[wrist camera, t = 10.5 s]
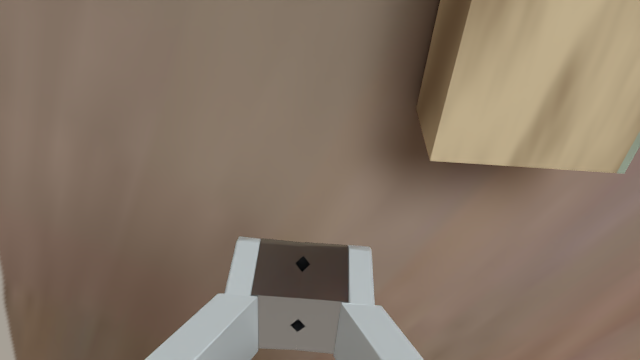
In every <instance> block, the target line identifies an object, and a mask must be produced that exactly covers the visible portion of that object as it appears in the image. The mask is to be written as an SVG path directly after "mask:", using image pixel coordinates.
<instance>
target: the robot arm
mask: <svg viewBox="0 0 640 360" xmlns="http://www.w3.org/2000/svg"><path fill="white" fill-rule="evenodd" d="M258 348H265V349H286V350H301V351H311V352H321V353H331V354H334V357H335V359H336V360H424V359H423V358H422V357H421V355H420V354H419V353H418V352H417V350H416V349H415V348H414V346H413V345H412V344H411V343H410V341H409V340H408V339H407V338H406V336H405V335H404V334H403V333H402V331H401V330H400V329H399V328H398V326H397V325H396V324H395V322H394V321H393V320H392V319H391V317H390V316H389V315H388V314H387V312H386V311H385V310H384V309H383V307H382V306H378V305H375V301H374V284H373V267H372V250H371V248H370V247H367V246H352V245H348V246H347V245H339V244H324V243H309V242H305V243H303V242H293V241H283V240H273V239H263V238H262V239H259V238H250V237H240V236H239V238H238V240H237V242H236V246H235V250H234V255H233V259H232V263H231V268H230V272H229V276H228V281H227V285H226V289H225V293H224V294H219V293H218V294H217V295H216V296H214V297H213V298H212V299H211V300H210V301H209V302H208V303H207V304H206V305H204V306H203V307H202V308H201V309H200V310H199V311H198V312H197V313H196V314H195V315H193V316H192V317H191V318H190V319H189V320H188V321H187V322H186V323H185V324H183V325H182V326H181V327H180V328H179V329H178V330H177V331H176V332H175V333H174V334H172V335H171V336H170V337H169V338H168V339H167V340H166V341H165V342H164V343H162V344H161V345H160V346H159V347H158V348H157V349H156V350H155V351H154V352H153V353H151V354H150V355H149V356H148V357H147V358H146V359H145V360H251V359H252V358H253V356H254V355H255V354H256V353H257V351H258Z"/></svg>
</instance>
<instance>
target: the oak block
mask: <svg viewBox="0 0 640 360" xmlns="http://www.w3.org/2000/svg"><path fill="white" fill-rule="evenodd" d="M416 111H417V115H418V119H419V122H420V126H421V130H422V133H423V137H424V141H425V145H426V148H427V152H428V156H429V160H430V161H439V162H454V163H470V164H485V165H501V166H516V167H531V168H547V169H562V170H577V171H593V172H608V173H625V171H626V169H627V168H628V166H629V164H630V162H631V161H632V159H633V157H634V155H635V154H636V152H637V150H638V148H639V147H640V0H440V3H439V8H438V12H437V17H436V22H435V26H434V31H433V35H432V40H431V44H430V49H429V53H428V58H427V62H426V67H425V71H424V76H423V80H422V85H421V89H420V94H419V98H418V103H417V107H416Z"/></svg>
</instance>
